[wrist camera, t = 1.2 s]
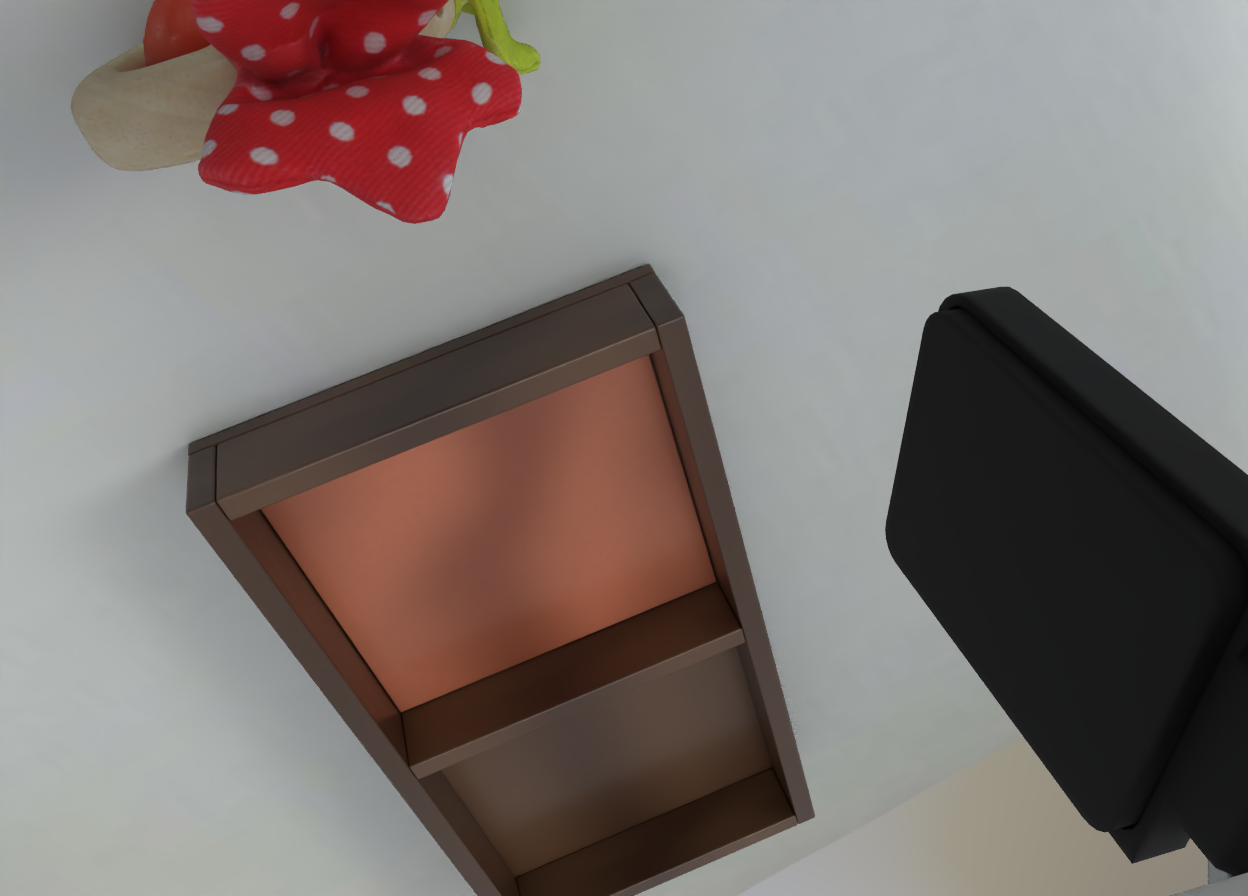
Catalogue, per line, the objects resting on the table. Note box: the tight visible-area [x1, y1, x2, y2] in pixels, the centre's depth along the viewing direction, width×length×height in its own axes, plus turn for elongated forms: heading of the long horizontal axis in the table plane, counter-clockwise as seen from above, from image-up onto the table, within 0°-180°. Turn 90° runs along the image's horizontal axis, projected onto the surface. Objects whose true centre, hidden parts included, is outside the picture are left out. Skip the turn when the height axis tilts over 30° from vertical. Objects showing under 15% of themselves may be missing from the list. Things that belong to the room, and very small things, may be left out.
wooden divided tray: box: [186, 264, 815, 896], centre depth 36 cm, size 14×26×3 cm, turn 15°
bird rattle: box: [71, 0, 540, 224], centre depth 19 cm, size 6×11×9 cm
